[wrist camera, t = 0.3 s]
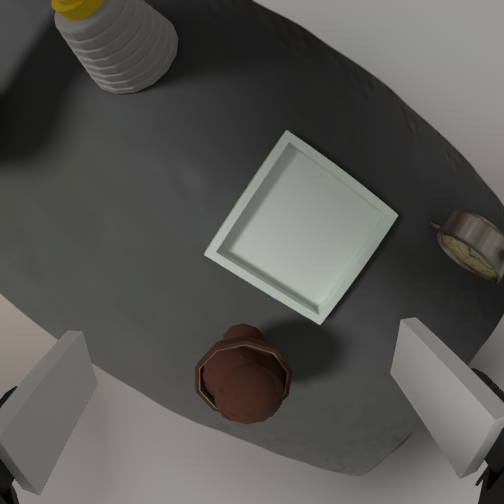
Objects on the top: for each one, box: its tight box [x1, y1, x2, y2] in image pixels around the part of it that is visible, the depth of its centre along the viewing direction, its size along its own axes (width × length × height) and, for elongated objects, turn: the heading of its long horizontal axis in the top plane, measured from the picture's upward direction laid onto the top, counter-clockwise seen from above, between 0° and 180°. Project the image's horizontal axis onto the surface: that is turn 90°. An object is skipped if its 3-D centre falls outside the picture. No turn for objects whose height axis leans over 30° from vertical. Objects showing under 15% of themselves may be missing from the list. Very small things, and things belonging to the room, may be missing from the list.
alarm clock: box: [429, 209, 504, 284], centre depth 32 cm, size 11×5×16 cm, turn 53°
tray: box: [204, 130, 398, 325], centre depth 38 cm, size 17×17×2 cm
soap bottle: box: [51, 0, 178, 94], centre depth 23 cm, size 12×12×20 cm
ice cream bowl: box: [195, 324, 292, 424], centre depth 35 cm, size 11×11×15 cm
